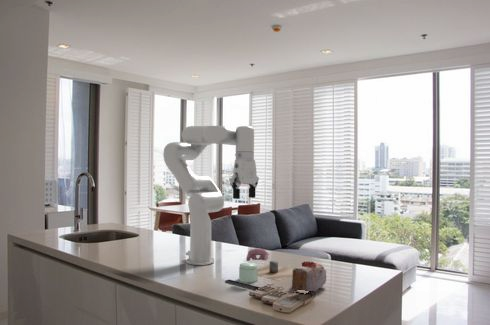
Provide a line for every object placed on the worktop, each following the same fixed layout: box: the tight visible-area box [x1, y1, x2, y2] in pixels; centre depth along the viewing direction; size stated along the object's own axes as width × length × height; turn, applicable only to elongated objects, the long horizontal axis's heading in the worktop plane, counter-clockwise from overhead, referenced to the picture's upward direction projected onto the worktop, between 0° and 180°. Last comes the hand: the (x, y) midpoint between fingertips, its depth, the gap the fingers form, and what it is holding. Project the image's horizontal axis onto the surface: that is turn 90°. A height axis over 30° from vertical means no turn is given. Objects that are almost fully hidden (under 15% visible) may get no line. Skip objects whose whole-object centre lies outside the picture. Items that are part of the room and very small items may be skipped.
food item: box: [291, 261, 327, 292], centre depth 139 cm, size 14×8×10 cm, turn 143°
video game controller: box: [245, 248, 269, 262], centre depth 182 cm, size 10×5×7 cm, turn 75°
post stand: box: [257, 260, 294, 282], centre depth 157 cm, size 18×18×6 cm
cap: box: [238, 262, 259, 284], centre depth 145 cm, size 7×7×6 cm
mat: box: [224, 279, 261, 291], centre depth 145 cm, size 14×10×1 cm
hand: (244, 198), depth 162 cm, fingers open, 9 cm apart
